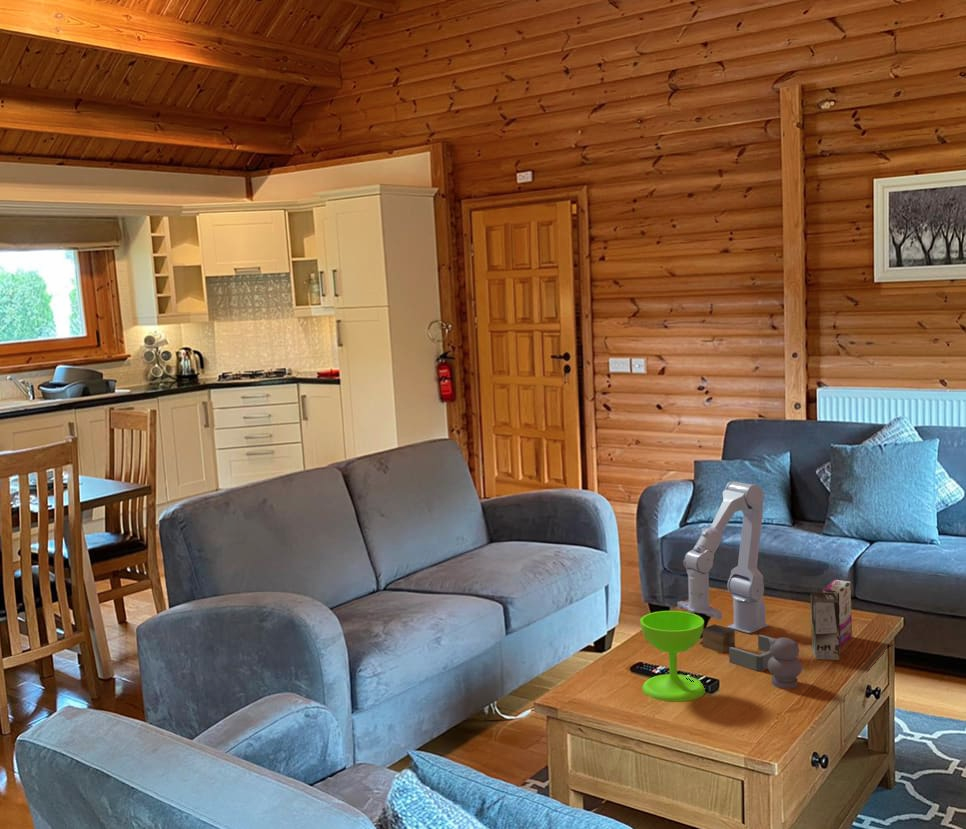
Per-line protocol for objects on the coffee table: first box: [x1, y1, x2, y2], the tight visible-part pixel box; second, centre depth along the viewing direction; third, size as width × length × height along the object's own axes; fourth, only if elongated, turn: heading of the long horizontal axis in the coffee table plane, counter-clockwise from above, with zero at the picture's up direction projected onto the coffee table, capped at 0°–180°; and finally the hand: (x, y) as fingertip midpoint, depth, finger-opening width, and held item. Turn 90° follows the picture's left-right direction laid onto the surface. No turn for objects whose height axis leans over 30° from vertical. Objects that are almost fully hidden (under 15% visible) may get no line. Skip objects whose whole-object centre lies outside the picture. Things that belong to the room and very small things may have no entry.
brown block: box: [701, 623, 736, 654], centre depth 275 cm, size 6×7×5 cm
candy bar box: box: [821, 579, 853, 649], centre depth 274 cm, size 11×5×16 cm, turn 143°
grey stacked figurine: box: [767, 637, 803, 690], centre depth 247 cm, size 8×8×12 cm
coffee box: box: [810, 592, 840, 661], centre depth 265 cm, size 9×6×16 cm
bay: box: [728, 634, 776, 672], centre depth 264 cm, size 14×10×4 cm
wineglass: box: [639, 610, 706, 703], centre depth 247 cm, size 16×16×18 cm
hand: (699, 637), depth 280 cm, fingers closed
